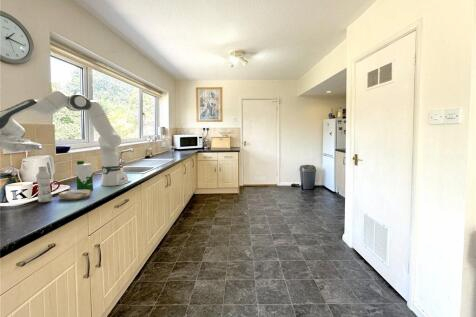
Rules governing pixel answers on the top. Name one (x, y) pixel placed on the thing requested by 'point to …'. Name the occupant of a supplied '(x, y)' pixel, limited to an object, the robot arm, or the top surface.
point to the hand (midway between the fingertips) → (33, 148)
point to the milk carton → (84, 175)
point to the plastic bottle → (43, 185)
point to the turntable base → (75, 199)
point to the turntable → (74, 194)
